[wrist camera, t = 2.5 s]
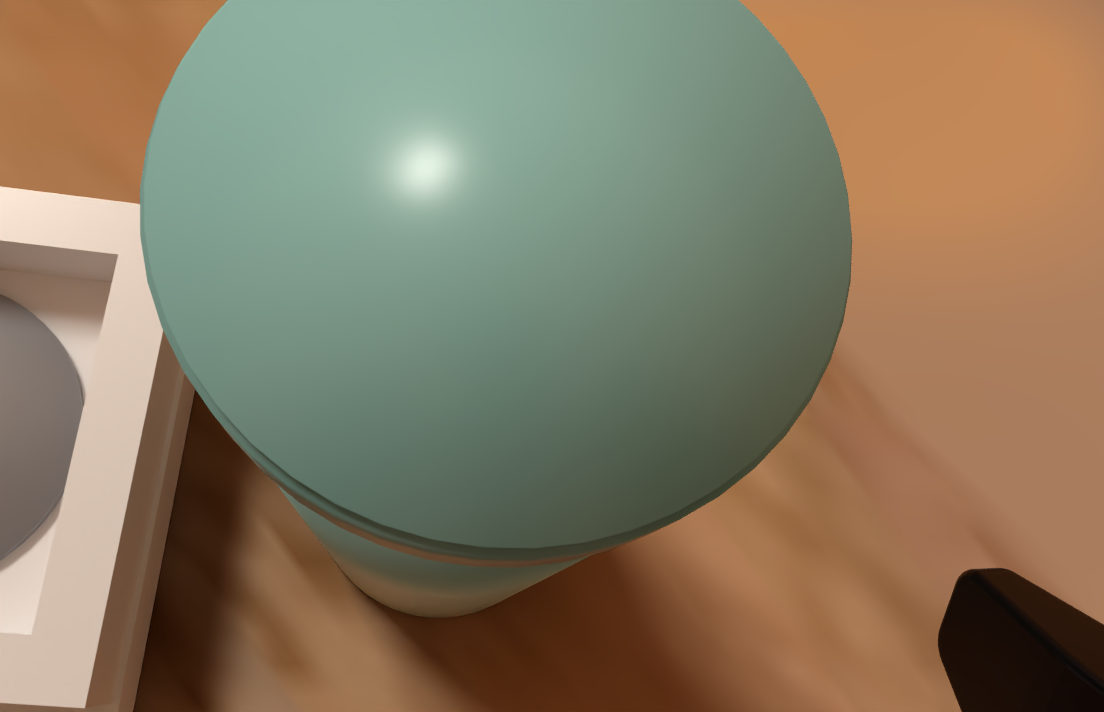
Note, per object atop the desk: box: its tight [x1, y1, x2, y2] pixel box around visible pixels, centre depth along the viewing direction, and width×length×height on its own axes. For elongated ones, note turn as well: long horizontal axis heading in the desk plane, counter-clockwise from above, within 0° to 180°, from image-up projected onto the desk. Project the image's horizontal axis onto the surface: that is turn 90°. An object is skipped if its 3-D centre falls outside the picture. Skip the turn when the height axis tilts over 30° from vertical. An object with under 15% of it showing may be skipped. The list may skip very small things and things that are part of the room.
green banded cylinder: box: [140, 0, 852, 618], centre depth 13 cm, size 5×5×13 cm
